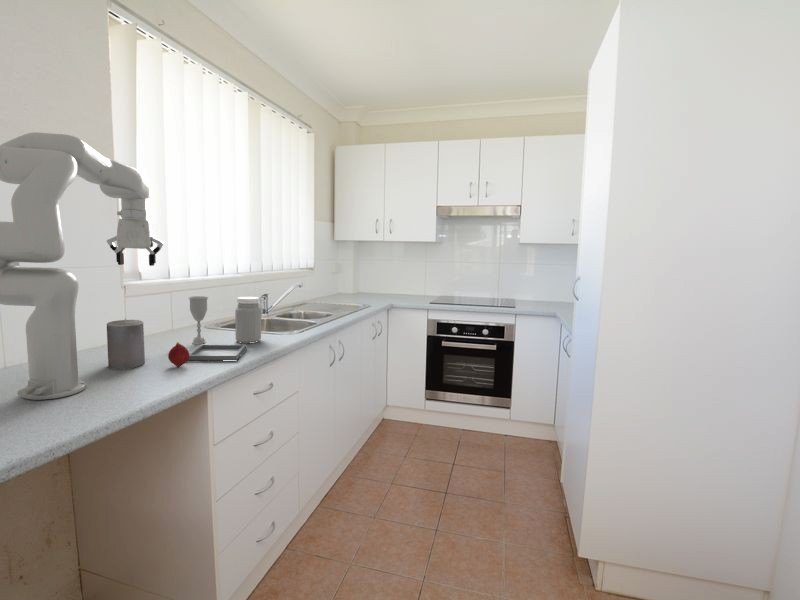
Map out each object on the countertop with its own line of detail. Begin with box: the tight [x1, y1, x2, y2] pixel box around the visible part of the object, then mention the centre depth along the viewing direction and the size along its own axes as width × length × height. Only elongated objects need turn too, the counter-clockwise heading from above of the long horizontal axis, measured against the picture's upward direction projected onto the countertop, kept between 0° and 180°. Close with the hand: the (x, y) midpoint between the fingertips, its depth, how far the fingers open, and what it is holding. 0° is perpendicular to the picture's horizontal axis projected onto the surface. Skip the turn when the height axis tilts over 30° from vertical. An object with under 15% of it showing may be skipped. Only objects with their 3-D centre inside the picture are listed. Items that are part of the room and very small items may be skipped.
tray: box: [187, 343, 247, 361], centre depth 145 cm, size 16×16×2 cm
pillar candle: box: [106, 317, 146, 370], centre depth 129 cm, size 10×10×15 cm
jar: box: [234, 295, 262, 344], centre depth 167 cm, size 10×10×18 cm
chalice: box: [188, 295, 209, 345], centre depth 161 cm, size 7×7×18 cm
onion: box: [167, 341, 190, 368], centre depth 130 cm, size 6×6×8 cm
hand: (136, 265), depth 145 cm, fingers open, 9 cm apart
